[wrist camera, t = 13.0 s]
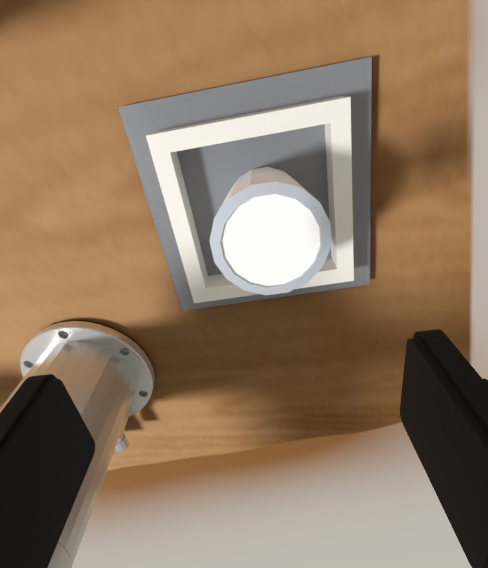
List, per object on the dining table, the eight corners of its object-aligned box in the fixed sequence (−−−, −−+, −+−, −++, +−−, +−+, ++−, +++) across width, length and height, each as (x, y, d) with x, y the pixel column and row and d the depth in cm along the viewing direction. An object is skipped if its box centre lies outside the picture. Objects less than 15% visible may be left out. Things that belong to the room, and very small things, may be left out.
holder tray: (367, 279, 29) (377, 297, 27) (183, 305, 31) (178, 324, 28) (367, 57, 22) (382, 54, 19) (122, 106, 23) (107, 108, 21)
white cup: (203, 177, 24) (189, 208, 18) (297, 142, 23) (315, 162, 17) (237, 260, 28) (235, 309, 22) (322, 232, 26) (344, 276, 20)
